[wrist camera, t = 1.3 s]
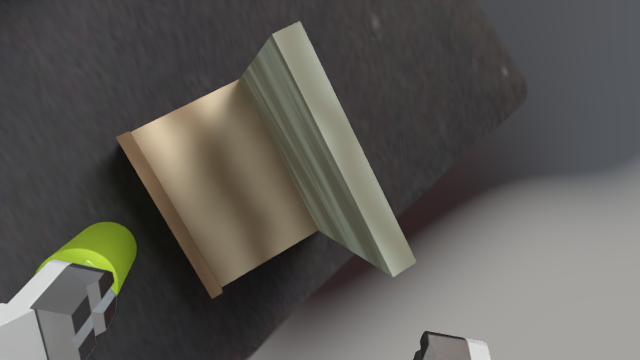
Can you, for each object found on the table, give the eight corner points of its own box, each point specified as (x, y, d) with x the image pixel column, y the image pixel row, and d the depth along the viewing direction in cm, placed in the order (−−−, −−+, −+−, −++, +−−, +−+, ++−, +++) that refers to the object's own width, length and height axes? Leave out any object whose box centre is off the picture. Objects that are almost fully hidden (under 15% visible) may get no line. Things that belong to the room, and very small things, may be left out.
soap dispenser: (156, 239, 48) (134, 299, 29) (108, 289, 47) (53, 386, 28) (111, 202, 47) (57, 239, 28) (61, 253, 46) (-32, 329, 27)
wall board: (209, 285, 50) (225, 384, 29) (123, 138, 47) (68, 130, 26) (326, 217, 53) (416, 262, 32) (252, 75, 50) (299, 21, 29)
